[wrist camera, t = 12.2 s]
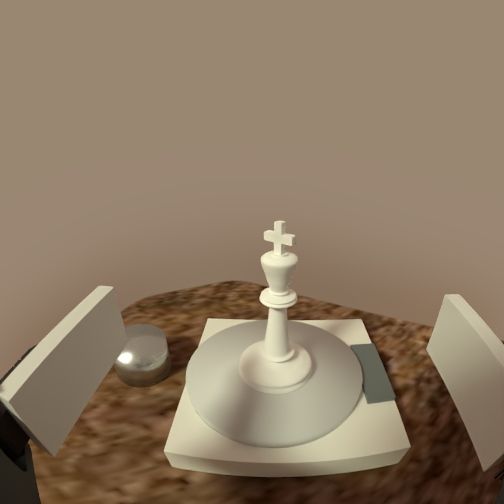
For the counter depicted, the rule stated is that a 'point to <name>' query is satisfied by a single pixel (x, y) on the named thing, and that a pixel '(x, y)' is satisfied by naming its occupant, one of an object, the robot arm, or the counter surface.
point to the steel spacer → (144, 357)
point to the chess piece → (277, 326)
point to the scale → (287, 406)
